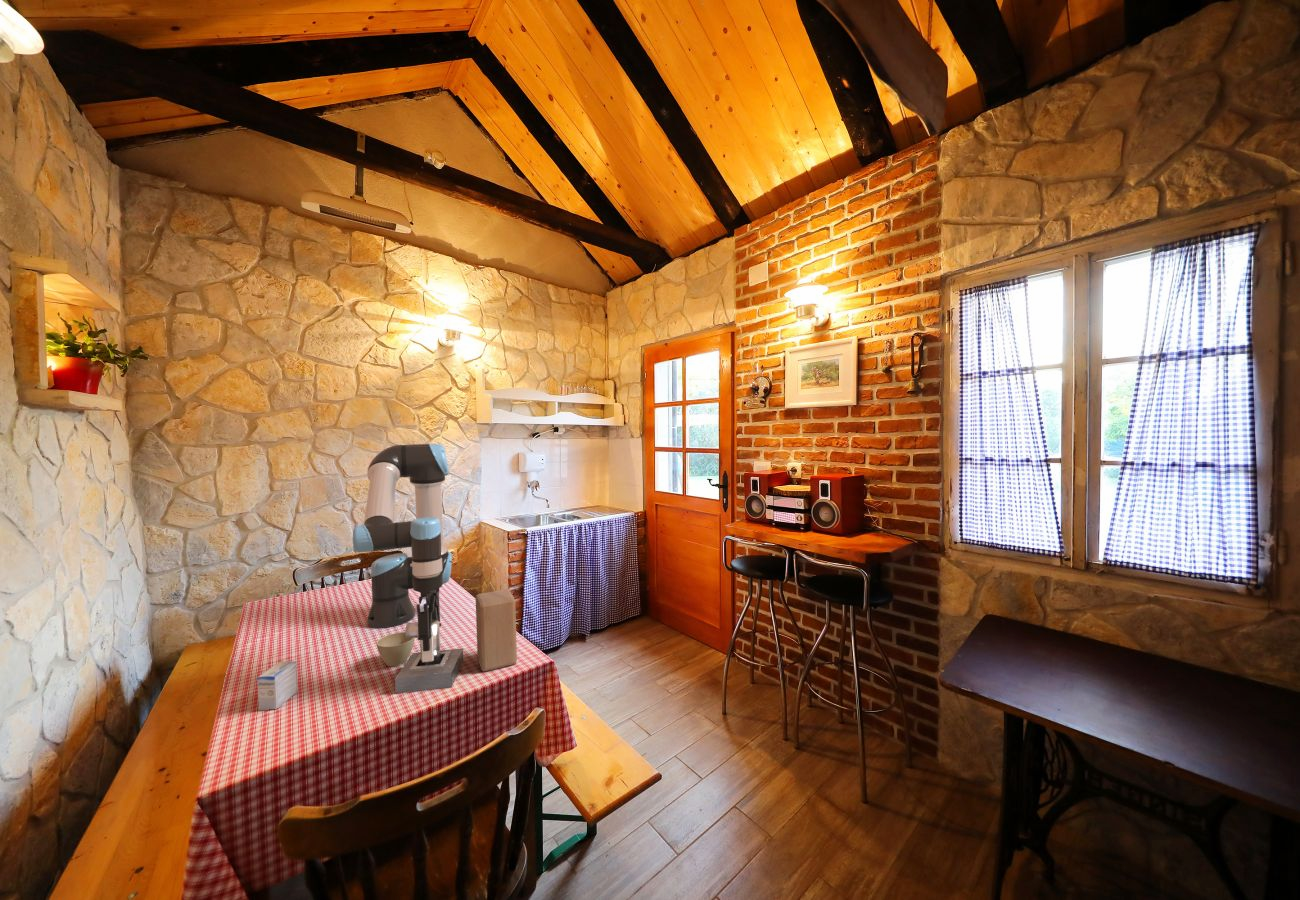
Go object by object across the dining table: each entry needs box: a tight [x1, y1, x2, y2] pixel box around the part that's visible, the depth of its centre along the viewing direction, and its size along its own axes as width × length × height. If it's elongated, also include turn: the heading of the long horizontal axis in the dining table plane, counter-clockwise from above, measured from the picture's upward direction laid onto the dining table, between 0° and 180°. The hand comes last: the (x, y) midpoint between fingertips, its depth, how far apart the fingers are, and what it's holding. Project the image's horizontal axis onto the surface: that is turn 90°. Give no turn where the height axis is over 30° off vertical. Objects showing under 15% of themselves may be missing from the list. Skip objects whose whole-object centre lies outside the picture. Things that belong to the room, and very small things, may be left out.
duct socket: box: [394, 647, 464, 694], centre depth 129 cm, size 14×14×5 cm
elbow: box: [404, 620, 441, 666], centre depth 128 cm, size 8×5×12 cm, turn 101°
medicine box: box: [256, 660, 299, 711], centre depth 118 cm, size 8×4×9 cm, turn 5°
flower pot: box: [376, 631, 416, 667], centre depth 137 cm, size 10×10×7 cm
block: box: [475, 588, 518, 672], centre depth 136 cm, size 10×10×20 cm
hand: (430, 655), depth 129 cm, fingers closed on elbow, 5 cm apart
